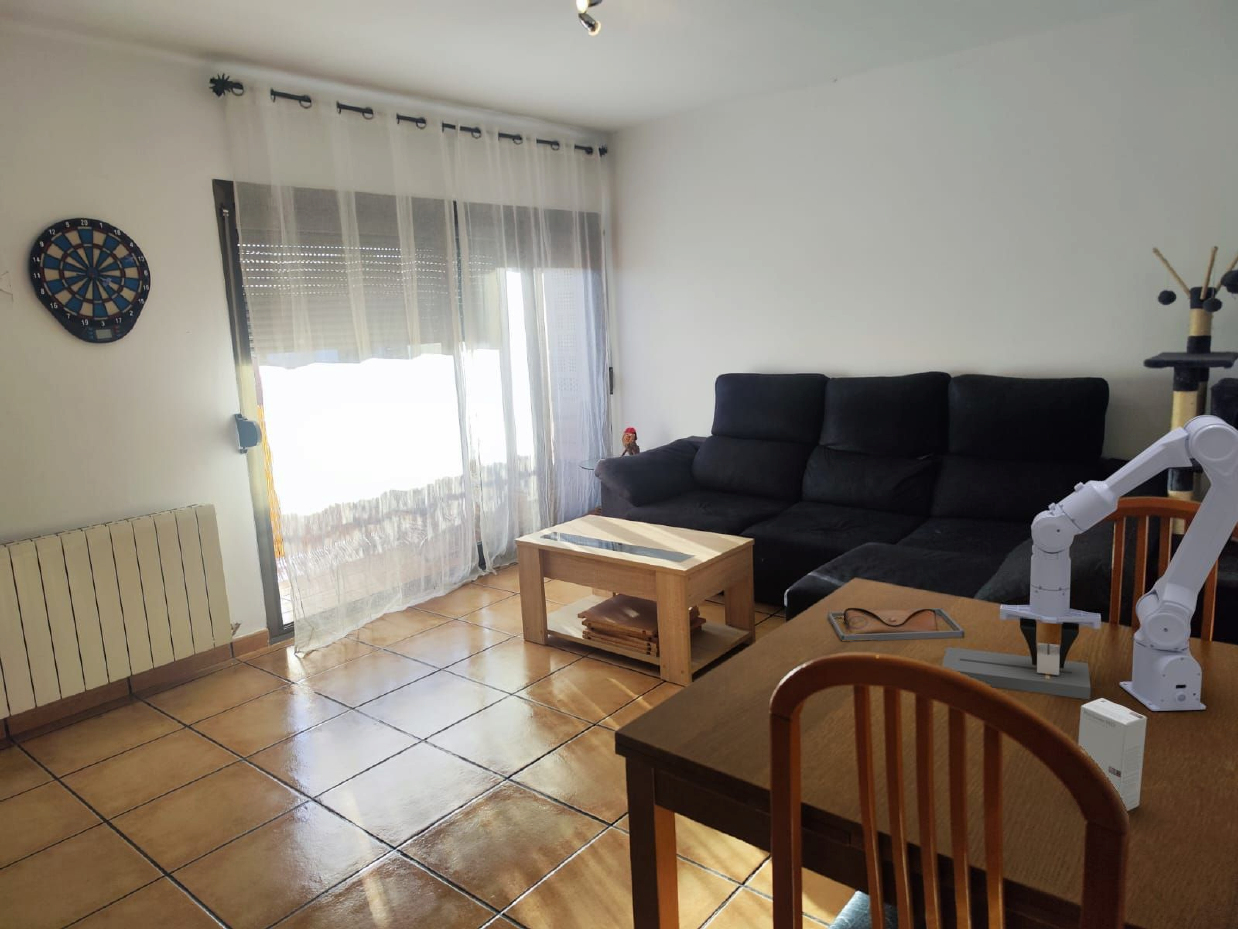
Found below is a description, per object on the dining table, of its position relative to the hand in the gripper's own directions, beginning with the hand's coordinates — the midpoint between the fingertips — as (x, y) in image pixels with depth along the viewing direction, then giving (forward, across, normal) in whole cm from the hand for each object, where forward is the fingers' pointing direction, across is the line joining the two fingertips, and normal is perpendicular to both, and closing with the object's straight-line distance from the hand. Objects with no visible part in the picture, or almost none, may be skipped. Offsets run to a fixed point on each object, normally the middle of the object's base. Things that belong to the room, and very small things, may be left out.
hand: (1047, 664), depth 138 cm
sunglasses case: (+4, -27, +16) cm, 32 cm away
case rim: (+3, -27, +17) cm, 32 cm away
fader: (+1, 0, 0) cm, 1 cm away
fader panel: (+3, -5, 0) cm, 6 cm away
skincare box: (+3, +7, -34) cm, 35 cm away
